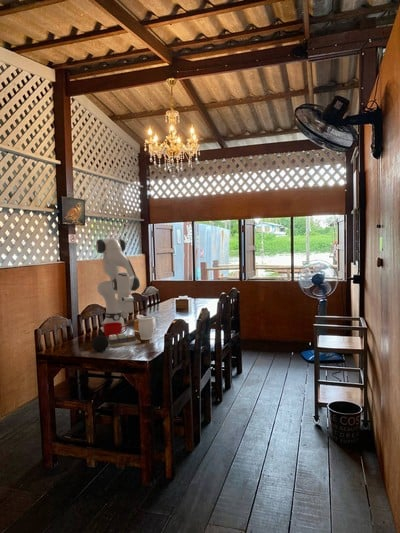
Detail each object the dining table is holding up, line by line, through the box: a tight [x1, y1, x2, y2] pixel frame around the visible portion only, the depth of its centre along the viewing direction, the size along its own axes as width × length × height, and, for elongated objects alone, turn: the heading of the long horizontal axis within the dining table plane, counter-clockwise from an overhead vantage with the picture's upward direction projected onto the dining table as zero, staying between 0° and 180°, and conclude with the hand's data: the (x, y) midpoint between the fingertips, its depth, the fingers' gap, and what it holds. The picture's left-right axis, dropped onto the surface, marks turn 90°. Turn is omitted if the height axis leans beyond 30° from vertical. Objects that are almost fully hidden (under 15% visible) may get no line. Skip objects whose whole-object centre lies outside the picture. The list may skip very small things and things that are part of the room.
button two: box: [118, 332, 127, 339], centre depth 260 cm, size 4×4×3 cm
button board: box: [107, 335, 142, 349], centre depth 261 cm, size 11×22×4 cm, turn 122°
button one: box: [109, 335, 117, 340], centre depth 257 cm, size 4×4×3 cm
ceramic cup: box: [102, 322, 128, 339], centre depth 277 cm, size 13×17×10 cm
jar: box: [137, 315, 155, 341], centre depth 273 cm, size 11×10×15 cm
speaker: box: [91, 335, 108, 352], centre depth 243 cm, size 10×10×10 cm
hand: (124, 317), depth 261 cm, fingers closed
